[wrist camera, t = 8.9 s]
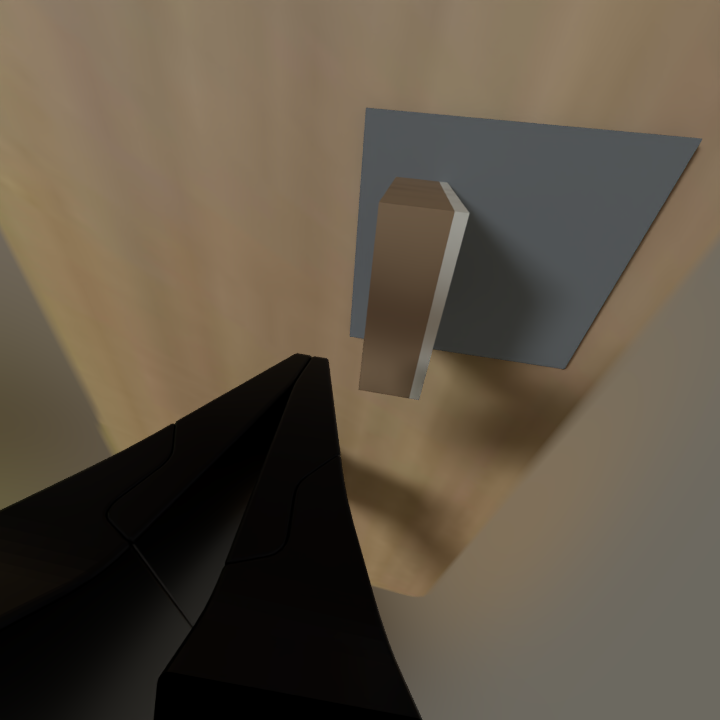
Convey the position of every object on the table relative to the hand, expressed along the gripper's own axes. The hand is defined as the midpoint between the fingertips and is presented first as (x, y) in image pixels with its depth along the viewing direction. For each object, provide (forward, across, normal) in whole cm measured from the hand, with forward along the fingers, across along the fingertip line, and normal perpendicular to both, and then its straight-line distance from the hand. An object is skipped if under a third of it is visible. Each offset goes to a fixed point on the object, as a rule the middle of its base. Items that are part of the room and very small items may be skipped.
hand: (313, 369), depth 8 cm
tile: (+11, -2, 0) cm, 12 cm away
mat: (+12, -6, 0) cm, 13 cm away
